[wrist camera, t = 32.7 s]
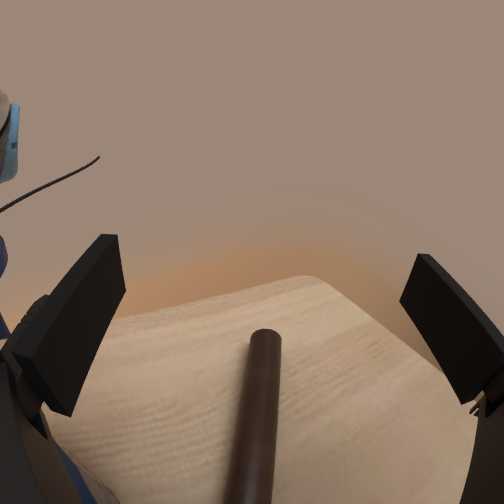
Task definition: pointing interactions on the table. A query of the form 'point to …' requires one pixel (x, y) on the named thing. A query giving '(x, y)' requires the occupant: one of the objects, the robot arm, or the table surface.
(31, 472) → the robot arm
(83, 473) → the bowl
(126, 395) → the table surface
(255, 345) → the stick
